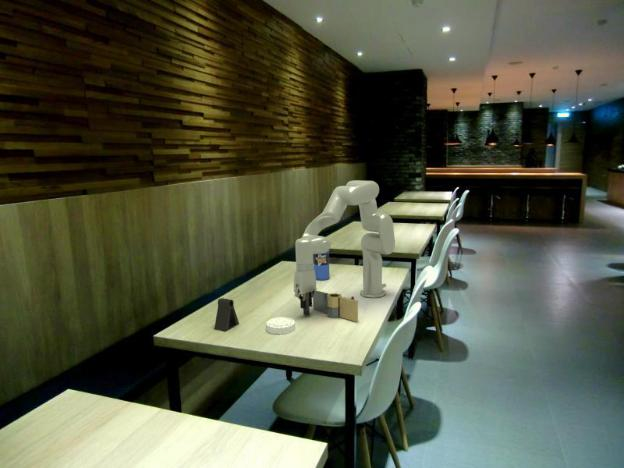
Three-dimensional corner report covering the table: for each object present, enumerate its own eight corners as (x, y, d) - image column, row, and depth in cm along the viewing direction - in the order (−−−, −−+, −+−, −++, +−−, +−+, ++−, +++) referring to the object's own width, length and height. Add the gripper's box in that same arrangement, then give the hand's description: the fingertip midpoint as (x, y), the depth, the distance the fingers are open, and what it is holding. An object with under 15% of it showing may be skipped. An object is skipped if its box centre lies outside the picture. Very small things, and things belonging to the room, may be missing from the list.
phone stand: (225, 331, 178) (224, 303, 176) (214, 329, 181) (212, 301, 179) (239, 324, 186) (238, 297, 184) (228, 322, 188) (226, 295, 186)
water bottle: (329, 280, 250) (329, 237, 245) (313, 281, 250) (312, 237, 246) (329, 276, 259) (328, 234, 255) (313, 276, 259) (312, 235, 255)
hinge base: (318, 307, 204) (318, 288, 203) (344, 315, 194) (344, 295, 192) (309, 311, 200) (308, 291, 198) (335, 319, 189) (335, 298, 188)
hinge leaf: (333, 311, 198) (333, 292, 197) (361, 319, 188) (361, 299, 186) (324, 315, 194) (324, 295, 192) (352, 323, 183) (352, 303, 182)
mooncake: (288, 336, 172) (288, 328, 172) (261, 333, 176) (260, 324, 176) (299, 325, 183) (299, 317, 183) (273, 322, 187) (273, 314, 187)
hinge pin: (306, 312, 196) (305, 286, 193) (311, 313, 194) (310, 287, 191) (301, 314, 193) (300, 288, 191) (306, 315, 191) (305, 289, 189)
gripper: (311, 261, 198) (312, 300, 201) (285, 269, 186) (287, 310, 190) (323, 264, 193) (325, 304, 196) (297, 272, 181) (299, 314, 185)
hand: (306, 307), depth 193 cm, fingers closed on hinge pin, 3 cm apart
